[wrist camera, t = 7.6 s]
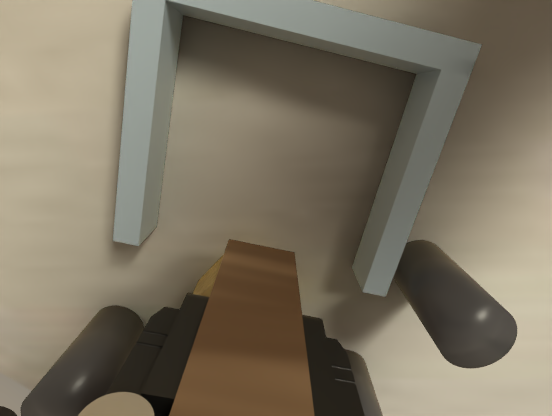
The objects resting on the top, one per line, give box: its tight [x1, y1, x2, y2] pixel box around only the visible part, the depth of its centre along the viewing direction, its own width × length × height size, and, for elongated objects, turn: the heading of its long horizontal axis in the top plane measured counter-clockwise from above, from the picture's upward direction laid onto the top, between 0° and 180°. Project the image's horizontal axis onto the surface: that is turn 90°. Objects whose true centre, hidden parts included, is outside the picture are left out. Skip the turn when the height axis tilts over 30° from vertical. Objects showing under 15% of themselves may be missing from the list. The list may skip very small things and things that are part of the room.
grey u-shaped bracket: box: [113, 0, 482, 297], centre depth 16 cm, size 12×13×2 cm
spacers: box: [21, 240, 517, 416], centre depth 17 cm, size 14×19×6 cm
